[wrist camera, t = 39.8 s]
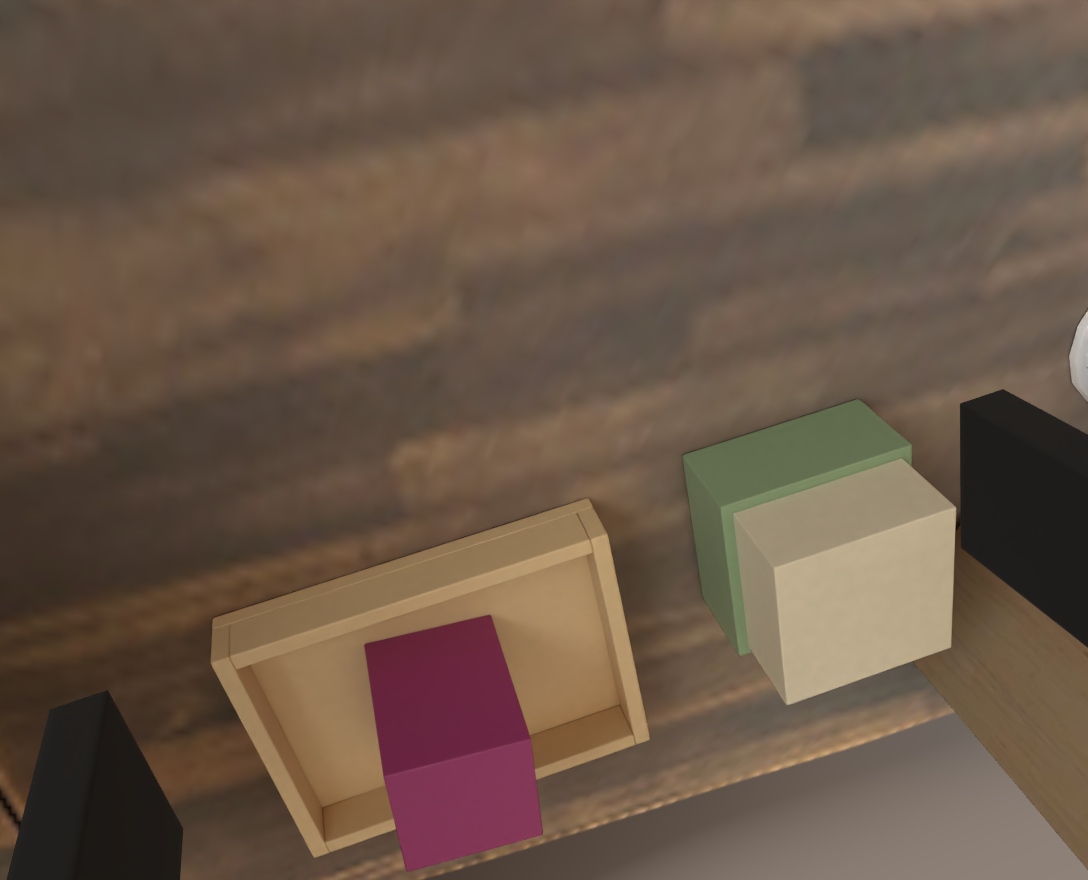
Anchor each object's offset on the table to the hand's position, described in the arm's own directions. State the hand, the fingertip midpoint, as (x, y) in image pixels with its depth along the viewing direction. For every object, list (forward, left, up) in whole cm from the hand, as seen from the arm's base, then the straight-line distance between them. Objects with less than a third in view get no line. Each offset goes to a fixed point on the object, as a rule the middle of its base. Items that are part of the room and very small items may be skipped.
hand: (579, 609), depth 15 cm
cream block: (+14, -21, -21) cm, 33 cm away
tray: (-4, -24, -26) cm, 35 cm away
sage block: (+14, -21, -26) cm, 36 cm away
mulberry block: (-4, -24, -25) cm, 34 cm away
